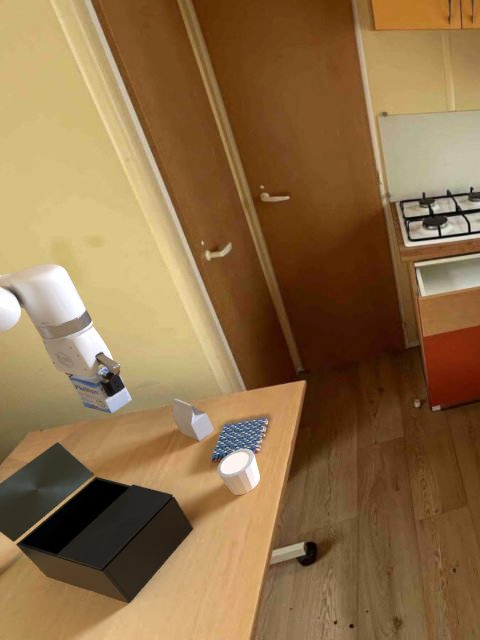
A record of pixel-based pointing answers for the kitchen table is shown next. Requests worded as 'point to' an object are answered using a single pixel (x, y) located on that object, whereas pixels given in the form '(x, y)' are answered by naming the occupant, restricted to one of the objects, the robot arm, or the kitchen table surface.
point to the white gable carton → (191, 420)
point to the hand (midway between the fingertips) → (100, 388)
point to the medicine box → (98, 393)
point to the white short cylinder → (239, 471)
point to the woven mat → (240, 438)
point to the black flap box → (108, 538)
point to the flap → (39, 489)
